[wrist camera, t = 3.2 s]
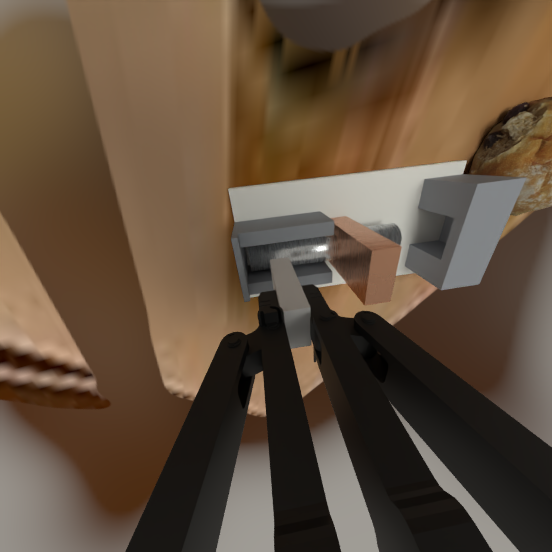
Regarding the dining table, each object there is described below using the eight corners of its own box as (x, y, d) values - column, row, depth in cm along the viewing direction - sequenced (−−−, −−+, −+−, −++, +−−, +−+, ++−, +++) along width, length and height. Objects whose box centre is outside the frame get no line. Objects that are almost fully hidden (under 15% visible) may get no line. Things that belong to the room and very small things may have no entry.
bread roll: (434, 205, 27) (487, 248, 22) (470, 115, 18) (568, 154, 14) (512, 171, 26) (585, 209, 21) (587, 61, 18) (734, 82, 13)
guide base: (229, 188, 20) (221, 198, 14) (457, 160, 21) (534, 159, 15) (249, 293, 25) (249, 329, 20) (427, 266, 27) (474, 294, 21)
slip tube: (246, 229, 21) (245, 268, 13) (384, 210, 21) (461, 238, 14) (253, 268, 23) (255, 322, 15) (378, 250, 23) (442, 293, 16)
